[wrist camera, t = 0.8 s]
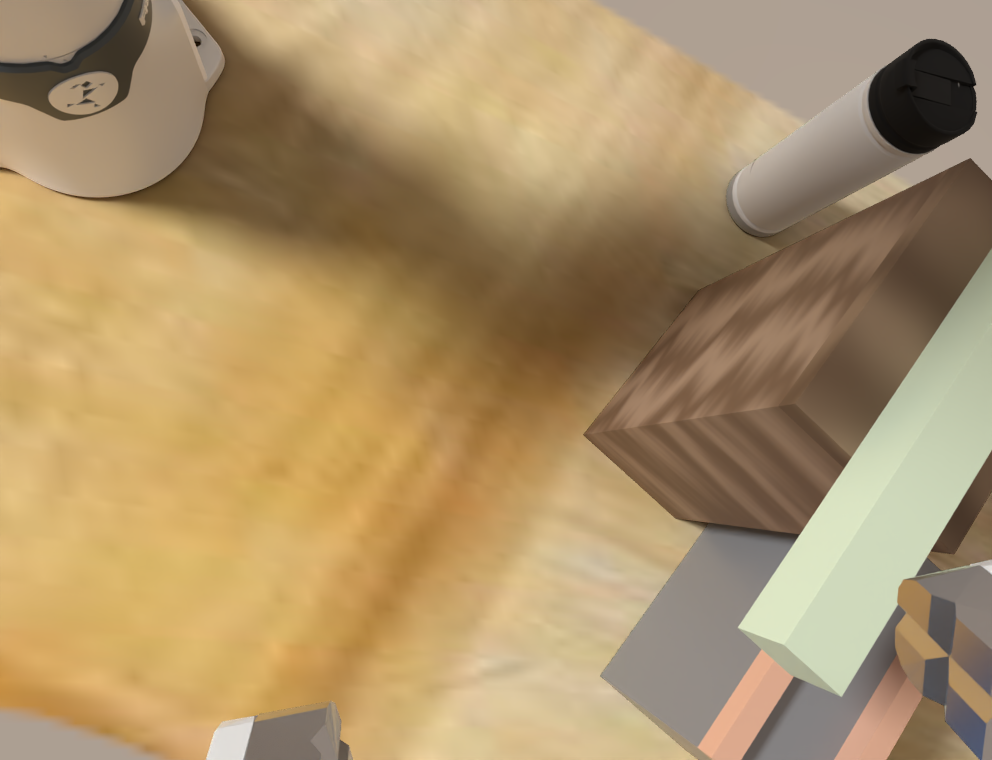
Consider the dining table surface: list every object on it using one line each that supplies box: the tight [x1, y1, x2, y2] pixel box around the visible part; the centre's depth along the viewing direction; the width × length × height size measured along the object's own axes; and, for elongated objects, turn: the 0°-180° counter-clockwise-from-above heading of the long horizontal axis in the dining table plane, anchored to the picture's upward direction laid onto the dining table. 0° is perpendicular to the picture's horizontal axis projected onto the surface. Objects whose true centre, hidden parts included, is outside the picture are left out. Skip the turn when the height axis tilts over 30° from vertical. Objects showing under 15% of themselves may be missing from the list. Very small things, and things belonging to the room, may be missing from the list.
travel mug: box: [726, 39, 977, 237], centre depth 52 cm, size 6×7×20 cm
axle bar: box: [738, 249, 992, 697], centre depth 30 cm, size 24×3×3 cm, turn 139°
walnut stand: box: [583, 158, 992, 554], centre depth 46 cm, size 16×10×26 cm, turn 139°
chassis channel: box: [600, 523, 941, 760], centre depth 49 cm, size 18×9×16 cm, turn 139°
